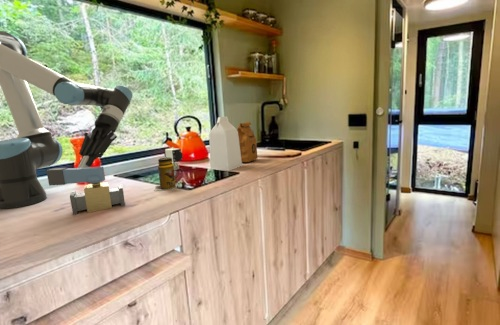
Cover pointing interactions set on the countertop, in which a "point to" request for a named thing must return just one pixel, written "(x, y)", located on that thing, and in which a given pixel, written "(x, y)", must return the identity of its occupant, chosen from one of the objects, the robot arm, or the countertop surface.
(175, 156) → the pneumatic valve
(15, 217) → the countertop surface
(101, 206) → the ball valve
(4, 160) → the robot arm
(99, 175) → the lever
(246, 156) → the coffee package
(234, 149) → the milk
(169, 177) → the condiment
